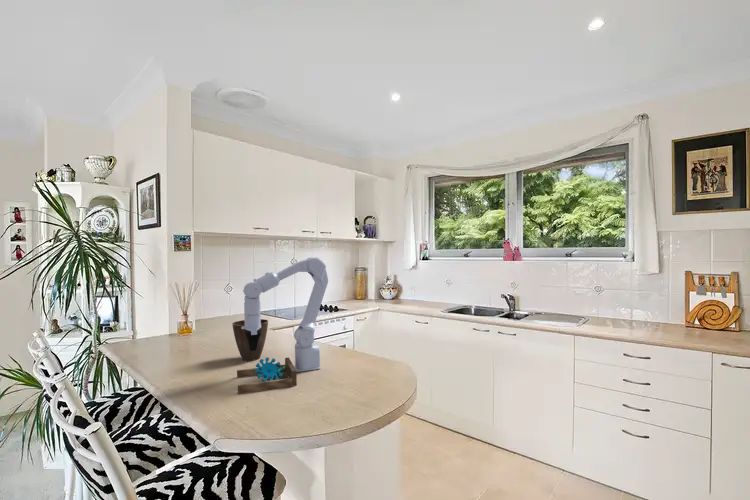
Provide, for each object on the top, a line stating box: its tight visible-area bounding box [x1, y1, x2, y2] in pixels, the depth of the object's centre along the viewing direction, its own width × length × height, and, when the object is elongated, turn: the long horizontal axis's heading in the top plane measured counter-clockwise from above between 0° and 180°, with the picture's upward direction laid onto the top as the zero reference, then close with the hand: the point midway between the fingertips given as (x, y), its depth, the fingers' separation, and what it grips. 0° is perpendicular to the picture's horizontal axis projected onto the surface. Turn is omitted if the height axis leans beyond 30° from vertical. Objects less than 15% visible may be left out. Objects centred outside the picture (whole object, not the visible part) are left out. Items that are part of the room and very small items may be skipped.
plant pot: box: [232, 318, 269, 362], centre depth 160 cm, size 15×15×16 cm
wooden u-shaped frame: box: [236, 357, 298, 395], centre depth 131 cm, size 19×18×5 cm
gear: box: [255, 357, 285, 382], centre depth 132 cm, size 11×6×10 cm
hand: (253, 350), depth 137 cm, fingers closed
